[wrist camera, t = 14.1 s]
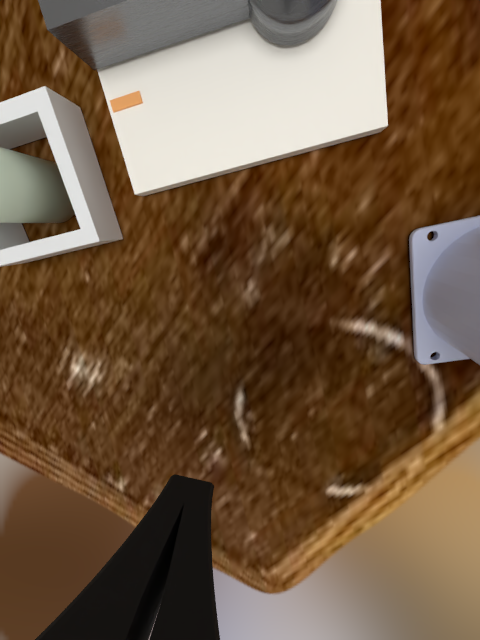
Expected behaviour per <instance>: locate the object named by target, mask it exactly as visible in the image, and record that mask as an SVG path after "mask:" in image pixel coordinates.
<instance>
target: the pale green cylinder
mask: <svg viewBox="0 0 480 640" xmlns="http://www.w3.org/2000/svg"><path fill="white" fill-rule="evenodd" d="M74 214H75V212H74V209H73V207H72V204H71V201H70V198H69V196H68V193H67V190H66V187H65V185H64V182H63V179H62V176H61V174H60V171H59V168H58V166H57V163H54V162H51V161H48V160H44V159H41V158H37V157H34V156H30V155H26V154H23V153H19V152H16V151H12V150H9V149H5V148H2V147H0V223H62V222H65V221H67V220H69V219H70V218H72V216H73V215H74Z"/></svg>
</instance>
